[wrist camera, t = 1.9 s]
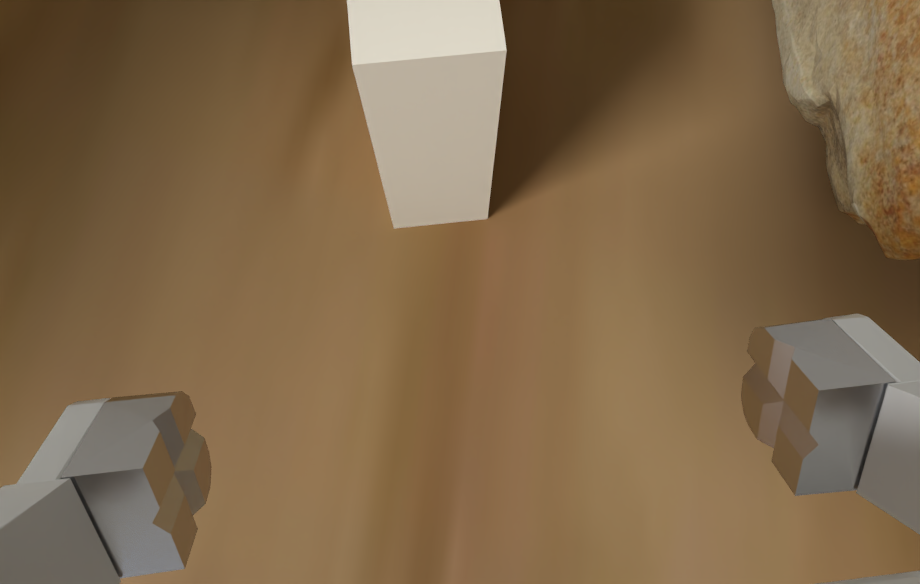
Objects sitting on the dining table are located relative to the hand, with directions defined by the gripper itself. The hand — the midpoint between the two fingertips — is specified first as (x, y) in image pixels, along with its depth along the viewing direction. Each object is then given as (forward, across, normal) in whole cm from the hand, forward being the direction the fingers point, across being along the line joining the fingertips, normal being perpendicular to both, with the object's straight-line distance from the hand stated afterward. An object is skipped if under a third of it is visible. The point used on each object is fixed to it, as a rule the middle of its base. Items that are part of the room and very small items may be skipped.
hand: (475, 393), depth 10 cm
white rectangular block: (+22, 0, +3) cm, 22 cm away
